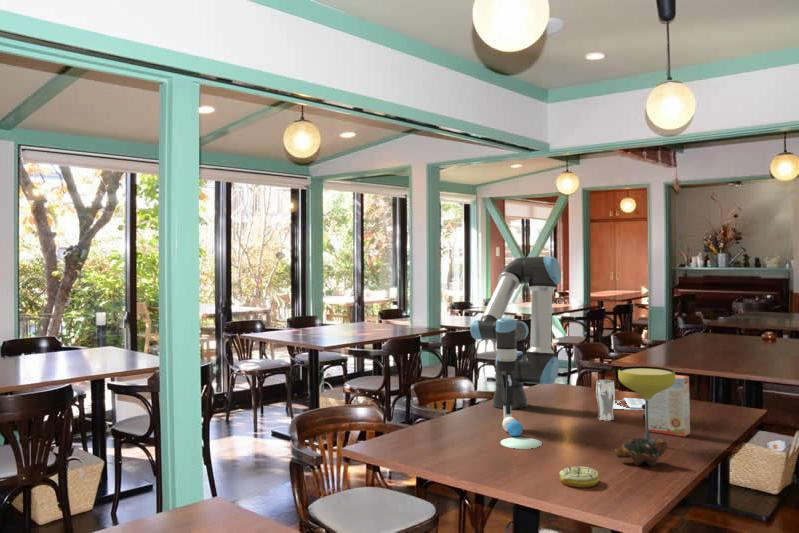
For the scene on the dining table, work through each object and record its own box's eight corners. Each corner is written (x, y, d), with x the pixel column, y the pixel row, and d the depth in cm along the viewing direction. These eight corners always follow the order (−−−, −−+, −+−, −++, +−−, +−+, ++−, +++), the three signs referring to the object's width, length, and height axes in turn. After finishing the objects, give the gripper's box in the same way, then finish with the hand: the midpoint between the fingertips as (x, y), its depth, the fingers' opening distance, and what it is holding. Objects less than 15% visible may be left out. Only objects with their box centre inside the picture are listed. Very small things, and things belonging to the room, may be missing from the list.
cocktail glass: (671, 454, 208) (670, 376, 208) (613, 447, 218) (612, 372, 217) (680, 441, 223) (679, 368, 223) (626, 434, 233) (625, 364, 233)
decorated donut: (561, 475, 191) (561, 462, 191) (599, 478, 188) (599, 465, 188) (558, 487, 181) (558, 473, 181) (598, 490, 178) (598, 477, 178)
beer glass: (613, 417, 258) (612, 379, 258) (617, 421, 251) (616, 382, 251) (595, 417, 259) (594, 379, 259) (598, 421, 252) (597, 382, 252)
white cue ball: (499, 417, 239) (500, 432, 238) (513, 416, 237) (514, 432, 235) (505, 416, 244) (506, 431, 243) (519, 415, 241) (520, 431, 240)
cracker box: (690, 434, 232) (689, 375, 232) (684, 437, 227) (683, 378, 227) (651, 428, 241) (650, 371, 241) (645, 431, 237) (644, 373, 237)
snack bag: (657, 412, 268) (656, 407, 268) (605, 411, 272) (605, 406, 272) (648, 402, 286) (648, 397, 286) (601, 401, 290) (600, 396, 290)
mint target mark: (492, 442, 226) (492, 441, 226) (522, 435, 234) (522, 435, 234) (519, 451, 215) (519, 451, 215) (550, 444, 222) (550, 444, 222)
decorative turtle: (672, 469, 194) (670, 442, 194) (619, 470, 197) (617, 444, 196) (664, 457, 204) (662, 432, 203) (614, 459, 206) (612, 434, 206)
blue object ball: (503, 434, 235) (504, 420, 233) (515, 429, 238) (515, 416, 236) (514, 441, 231) (514, 428, 229) (525, 436, 233) (526, 423, 232)
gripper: (493, 357, 252) (494, 418, 252) (500, 362, 239) (501, 426, 239) (512, 357, 252) (513, 418, 252) (520, 362, 239) (521, 426, 239)
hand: (507, 422), depth 245 cm, fingers closed
